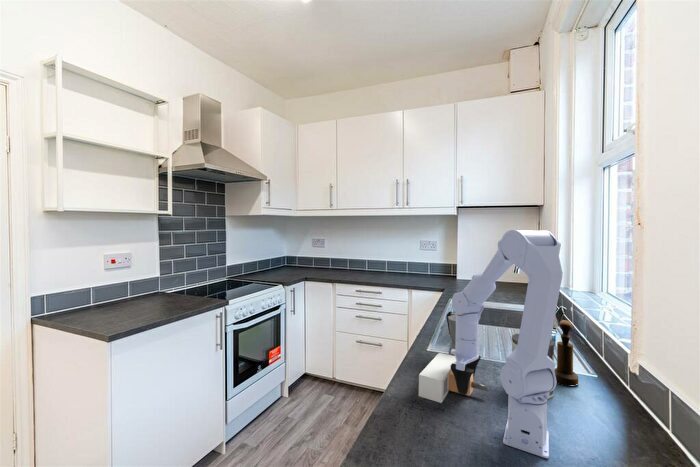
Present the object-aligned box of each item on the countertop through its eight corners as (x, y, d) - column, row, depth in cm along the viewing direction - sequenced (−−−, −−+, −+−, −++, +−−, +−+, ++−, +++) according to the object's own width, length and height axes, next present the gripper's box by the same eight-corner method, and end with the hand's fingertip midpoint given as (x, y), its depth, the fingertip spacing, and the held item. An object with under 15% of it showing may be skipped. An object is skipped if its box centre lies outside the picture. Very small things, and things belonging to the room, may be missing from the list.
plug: (486, 400, 80) (486, 383, 80) (436, 386, 87) (436, 370, 87) (488, 394, 84) (489, 377, 84) (440, 380, 91) (440, 365, 91)
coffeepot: (487, 371, 98) (488, 314, 98) (461, 374, 95) (462, 315, 95) (458, 352, 113) (459, 302, 113) (434, 355, 110) (435, 304, 110)
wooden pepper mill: (554, 374, 97) (555, 316, 96) (580, 381, 92) (581, 320, 92) (548, 381, 92) (550, 320, 92) (575, 389, 87) (577, 325, 87)
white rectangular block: (441, 403, 79) (442, 380, 79) (418, 396, 83) (419, 374, 83) (458, 375, 95) (459, 357, 94) (438, 370, 98) (439, 352, 98)
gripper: (458, 327, 93) (457, 372, 93) (444, 341, 81) (443, 394, 81) (483, 332, 89) (482, 379, 89) (473, 347, 77) (472, 402, 77)
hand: (465, 386), depth 85 cm, fingers open, 7 cm apart
